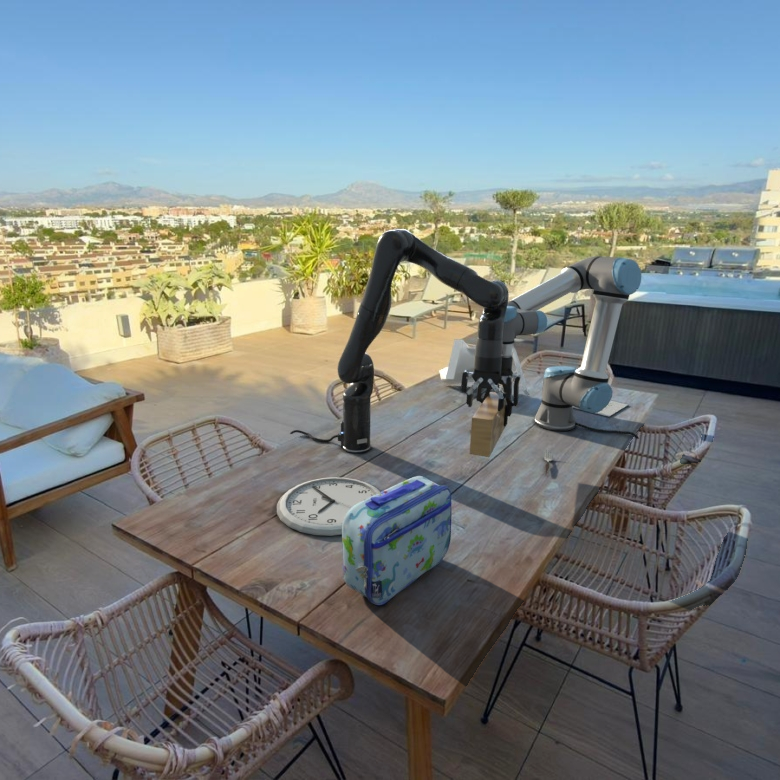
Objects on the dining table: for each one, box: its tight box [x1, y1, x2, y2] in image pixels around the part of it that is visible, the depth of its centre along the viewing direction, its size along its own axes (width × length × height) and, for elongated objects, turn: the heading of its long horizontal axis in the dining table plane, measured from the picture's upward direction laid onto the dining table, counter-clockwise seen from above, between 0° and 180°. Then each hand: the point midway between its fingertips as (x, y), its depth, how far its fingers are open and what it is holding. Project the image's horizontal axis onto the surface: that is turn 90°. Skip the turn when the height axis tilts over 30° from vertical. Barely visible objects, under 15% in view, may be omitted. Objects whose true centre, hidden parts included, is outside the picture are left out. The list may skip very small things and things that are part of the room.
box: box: [469, 391, 507, 458], centre depth 163 cm, size 27×6×12 cm, turn 158°
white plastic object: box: [438, 338, 531, 397], centre depth 245 cm, size 37×45×31 cm
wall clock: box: [276, 476, 382, 537], centre depth 142 cm, size 30×2×30 cm
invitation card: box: [573, 400, 629, 418], centre depth 226 cm, size 21×1×15 cm
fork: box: [544, 449, 554, 474], centre depth 169 cm, size 3×16×2 cm, turn 160°
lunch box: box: [341, 475, 453, 606], centre depth 111 cm, size 26×11×21 cm, turn 134°
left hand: (484, 408), depth 151 cm, fingers open, 8 cm apart
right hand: (495, 423), depth 173 cm, fingers closed on box, 6 cm apart
